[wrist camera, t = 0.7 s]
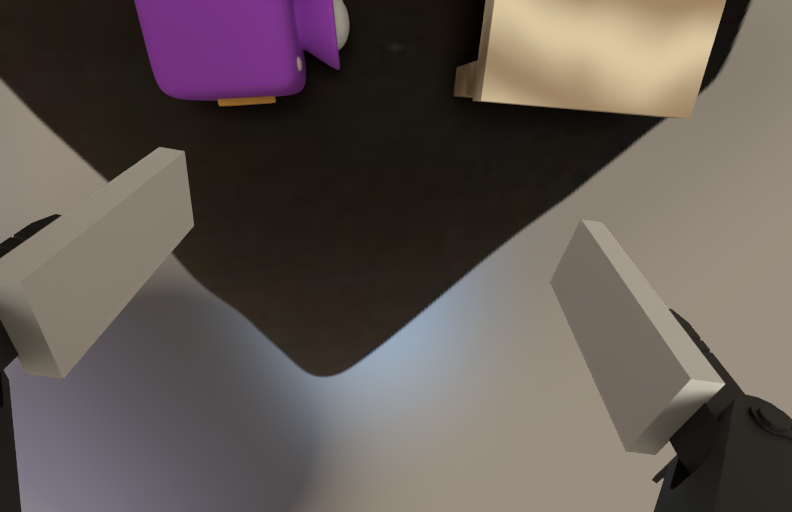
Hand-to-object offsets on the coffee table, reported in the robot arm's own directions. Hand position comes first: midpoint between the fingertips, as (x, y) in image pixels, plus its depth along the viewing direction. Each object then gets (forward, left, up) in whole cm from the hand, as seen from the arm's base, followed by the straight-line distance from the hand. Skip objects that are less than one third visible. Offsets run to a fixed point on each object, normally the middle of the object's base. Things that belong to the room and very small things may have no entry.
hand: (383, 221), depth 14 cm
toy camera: (-9, -8, -26) cm, 29 cm away
